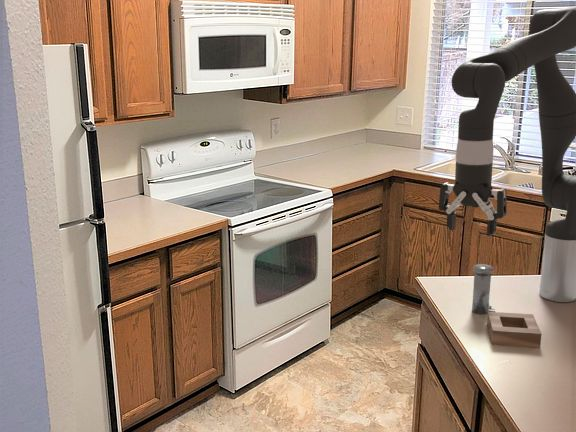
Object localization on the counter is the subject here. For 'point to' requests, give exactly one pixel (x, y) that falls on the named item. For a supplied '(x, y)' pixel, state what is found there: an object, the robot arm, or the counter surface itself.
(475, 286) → the pin
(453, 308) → the counter surface
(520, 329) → the socket block
